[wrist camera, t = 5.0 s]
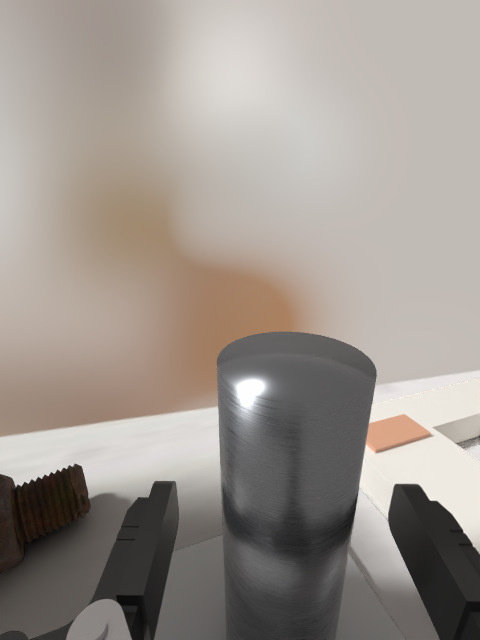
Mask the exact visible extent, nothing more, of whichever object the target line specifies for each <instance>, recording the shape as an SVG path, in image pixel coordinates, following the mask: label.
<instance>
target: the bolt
mask: <svg viewBox="0 0 480 640" xmlns="http://www.w3.org/2000/svg"><path fill="white" fill-rule="evenodd" d="M89 510H90V503H89V498H88V490H87V486H86V482H85V477H84V473H83V469H82V466H79V465H77V464H74V466H73V467H72V466H70V465H69V466H68V468H67V469H65V468H63V469H62V471H61V472H60V471H59V470H57V471H56V473H55V474H53V473H52V472H51V473H50V475H49V476H46V475H44V477H43V478H42V479H41V478H39V477H38V478H37V480H36V481H33V480H31V481H30V483H29V484H27V483H26V482H24V484H23V485H22V487H21V486H19V485H17V487H15V484H14V481H13V479H12V478H11V477H8V476H5V475H1V474H0V574H1V573H3V572H5V571H7V570H9V569H11V568H13V567H15V566H17V565H18V564H19V562H20V561H21V560H22V558H23V556H24V544H25V542H26V541H27V542H29V543H30V542H31V541H32V539H33V538H35V539H38V538H39V536H40V535H42V536H45V534H46V532H50V533H52V530H53V528H54V529H57V530H58V529H59V526H60V525H61V526H64V527H65V525H66V522H69V523H72V520H73V519H75V520H76V521H77V520H78V518H79V516H80V517H82V518H84V515H85V513H88V512H89Z"/></svg>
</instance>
